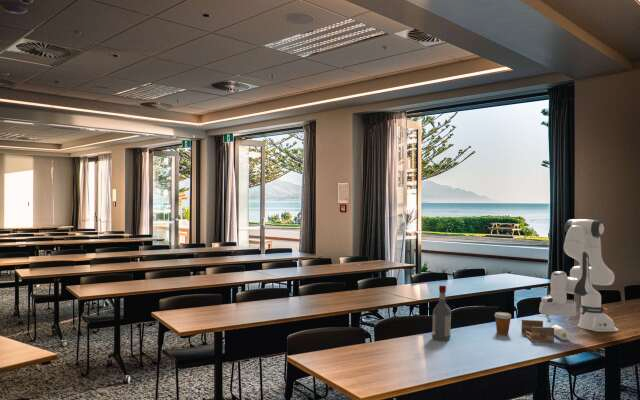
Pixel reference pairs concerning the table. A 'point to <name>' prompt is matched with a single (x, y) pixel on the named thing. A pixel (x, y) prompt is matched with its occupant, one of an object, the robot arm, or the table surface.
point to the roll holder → (537, 331)
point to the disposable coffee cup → (502, 322)
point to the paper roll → (561, 332)
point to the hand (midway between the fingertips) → (557, 322)
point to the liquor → (441, 318)
